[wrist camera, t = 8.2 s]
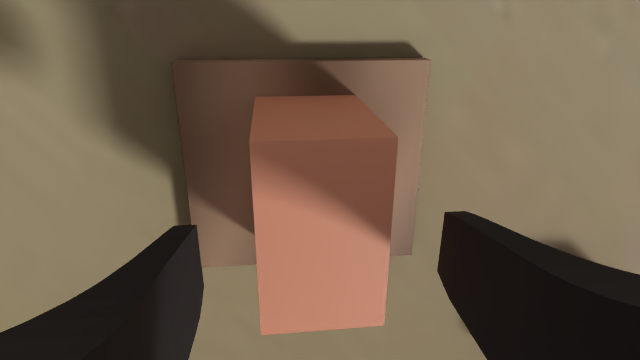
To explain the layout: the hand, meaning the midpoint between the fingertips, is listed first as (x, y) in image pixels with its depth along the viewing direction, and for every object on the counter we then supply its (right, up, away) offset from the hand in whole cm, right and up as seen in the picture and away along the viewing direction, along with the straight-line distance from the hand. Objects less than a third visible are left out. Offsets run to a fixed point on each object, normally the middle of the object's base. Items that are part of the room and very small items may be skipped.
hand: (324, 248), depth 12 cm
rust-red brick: (-1, +2, +6) cm, 6 cm away
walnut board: (-1, +3, +6) cm, 7 cm away
